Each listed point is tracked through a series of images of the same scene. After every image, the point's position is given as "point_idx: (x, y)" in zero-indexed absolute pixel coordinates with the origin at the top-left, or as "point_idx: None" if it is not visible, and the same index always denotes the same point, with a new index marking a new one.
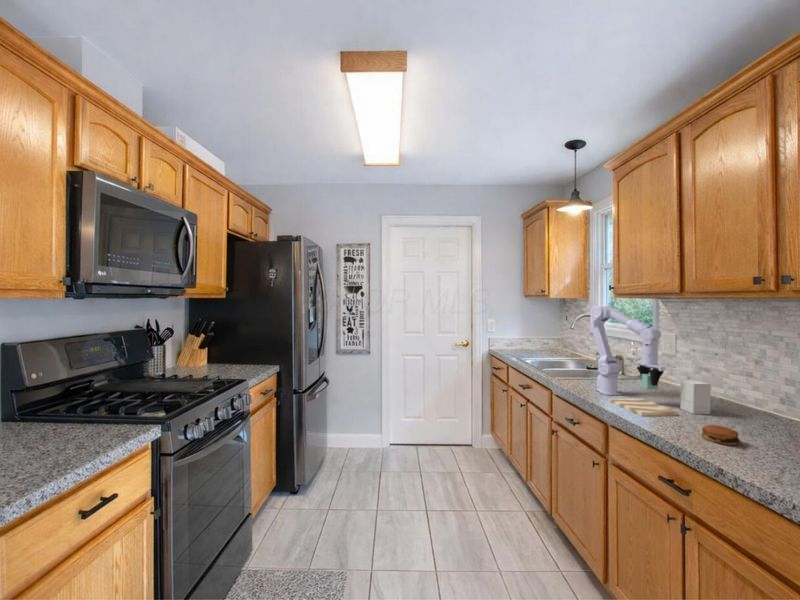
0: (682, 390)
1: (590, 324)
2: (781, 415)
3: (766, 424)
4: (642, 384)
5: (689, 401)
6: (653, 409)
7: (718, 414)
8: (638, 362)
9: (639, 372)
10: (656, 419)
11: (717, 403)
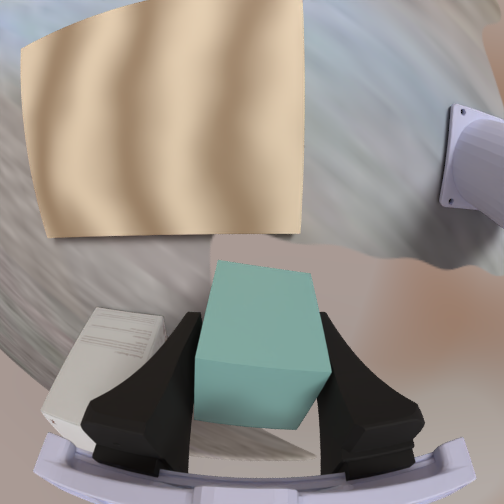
0: None
1: None
2: None
3: None
4: (300, 286)
5: (94, 343)
6: (57, 135)
7: None
8: (439, 483)
9: (373, 374)
10: (3, 97)
11: (252, 437)
